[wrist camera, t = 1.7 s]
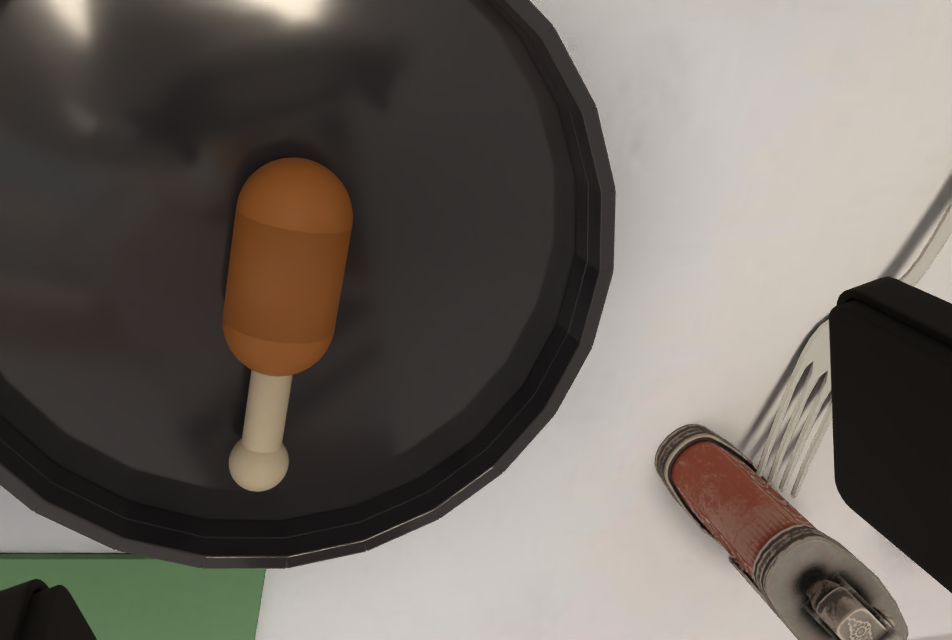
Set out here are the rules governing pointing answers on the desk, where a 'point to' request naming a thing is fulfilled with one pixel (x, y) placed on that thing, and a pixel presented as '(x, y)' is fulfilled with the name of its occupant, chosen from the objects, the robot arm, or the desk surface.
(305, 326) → the drumstick
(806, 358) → the fork
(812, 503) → the desk surface
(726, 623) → the desk surface
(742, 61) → the desk surface
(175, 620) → the napkin
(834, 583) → the lighter
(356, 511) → the pan
